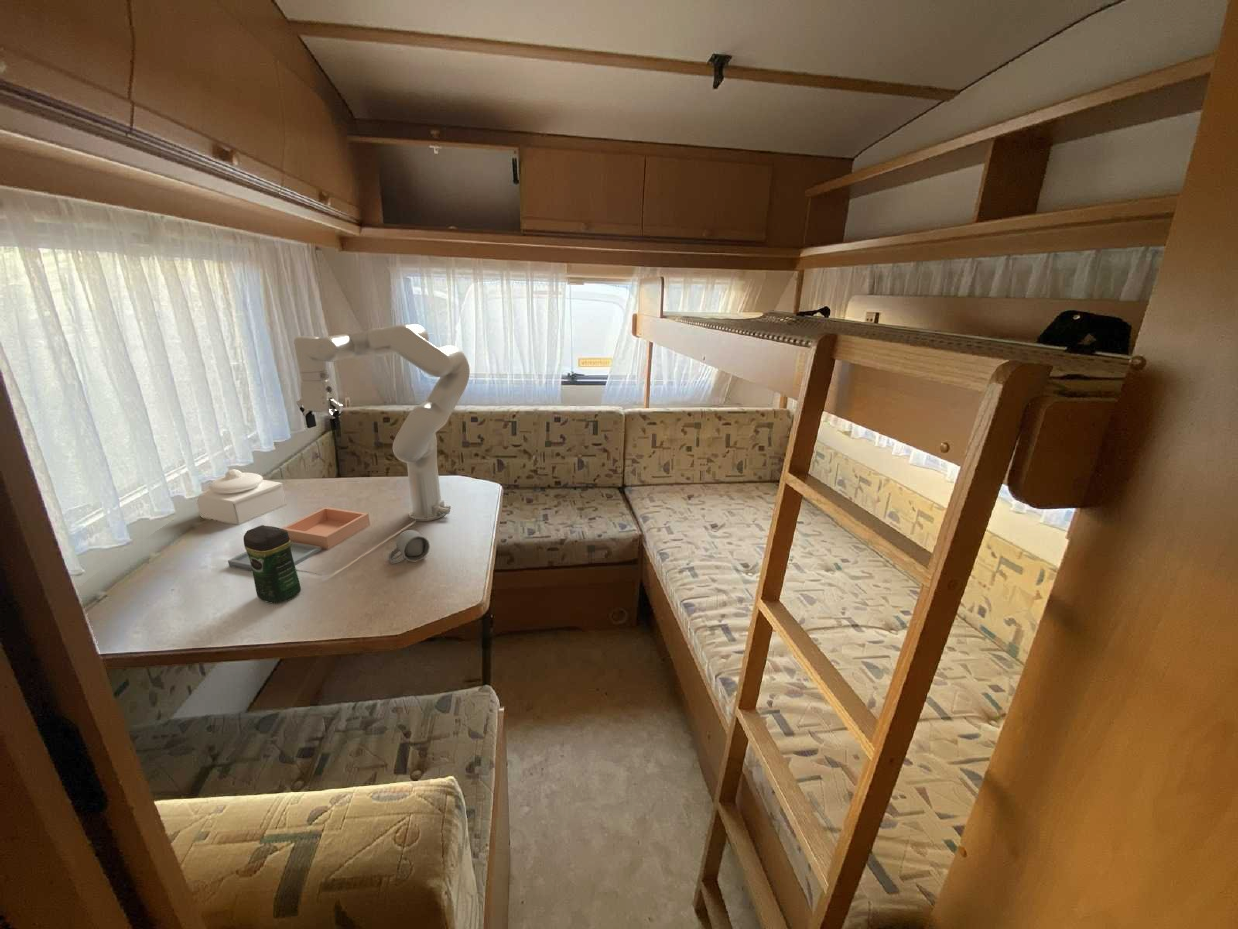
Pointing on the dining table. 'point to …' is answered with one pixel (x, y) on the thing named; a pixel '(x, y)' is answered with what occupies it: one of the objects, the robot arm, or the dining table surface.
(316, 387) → the robot arm
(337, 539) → the terracotta dish
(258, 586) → the coffee jar
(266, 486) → the white box with knob
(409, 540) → the ceramic mug
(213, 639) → the dining table surface
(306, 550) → the grey tray
